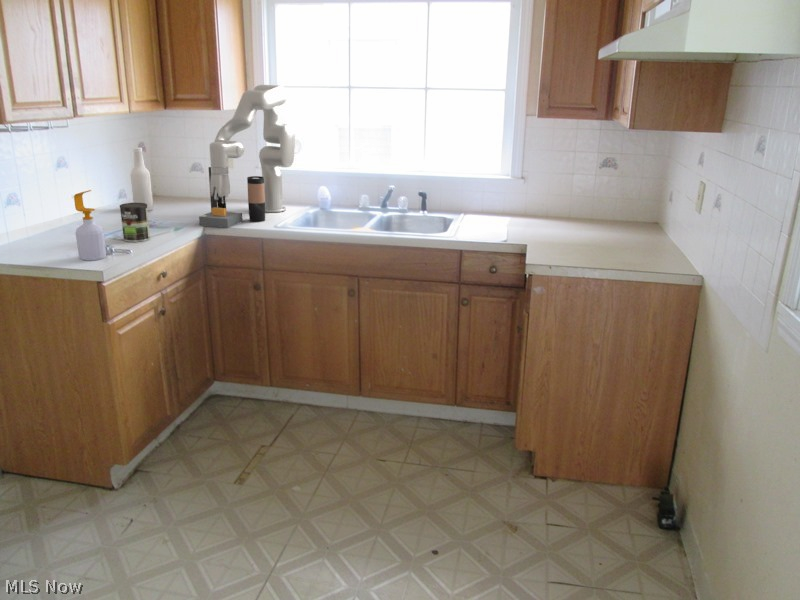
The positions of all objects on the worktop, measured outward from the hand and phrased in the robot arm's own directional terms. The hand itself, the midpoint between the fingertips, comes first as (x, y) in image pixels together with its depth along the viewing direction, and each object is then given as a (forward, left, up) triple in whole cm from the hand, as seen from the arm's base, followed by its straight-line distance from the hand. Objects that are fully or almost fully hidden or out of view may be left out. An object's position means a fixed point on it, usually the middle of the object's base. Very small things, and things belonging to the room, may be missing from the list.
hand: (222, 211), depth 292 cm
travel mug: (-11, +12, -6) cm, 17 cm away
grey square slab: (+1, 0, -5) cm, 6 cm away
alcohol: (-12, -49, -6) cm, 51 cm away
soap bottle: (+68, -15, -6) cm, 70 cm away
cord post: (-11, -10, -5) cm, 15 cm away
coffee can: (+39, -17, -6) cm, 43 cm away
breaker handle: (+3, 0, -1) cm, 3 cm away
